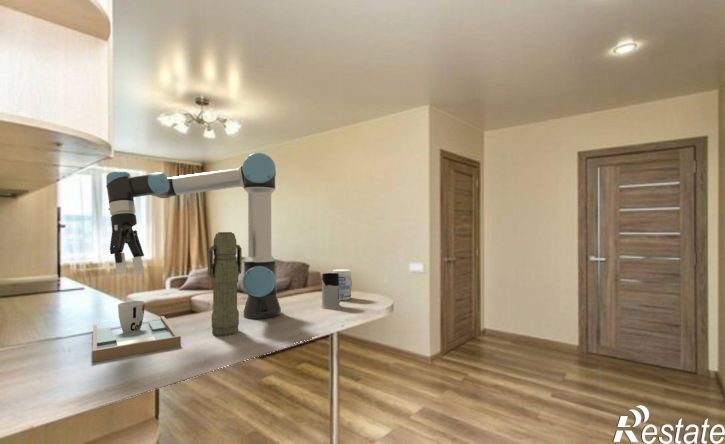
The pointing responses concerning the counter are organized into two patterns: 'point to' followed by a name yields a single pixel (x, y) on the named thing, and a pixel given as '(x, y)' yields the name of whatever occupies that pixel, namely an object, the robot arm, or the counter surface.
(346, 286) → the supplement tub
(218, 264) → the thermos
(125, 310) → the cup
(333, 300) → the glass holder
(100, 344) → the wooden tray
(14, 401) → the counter surface
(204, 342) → the counter surface
